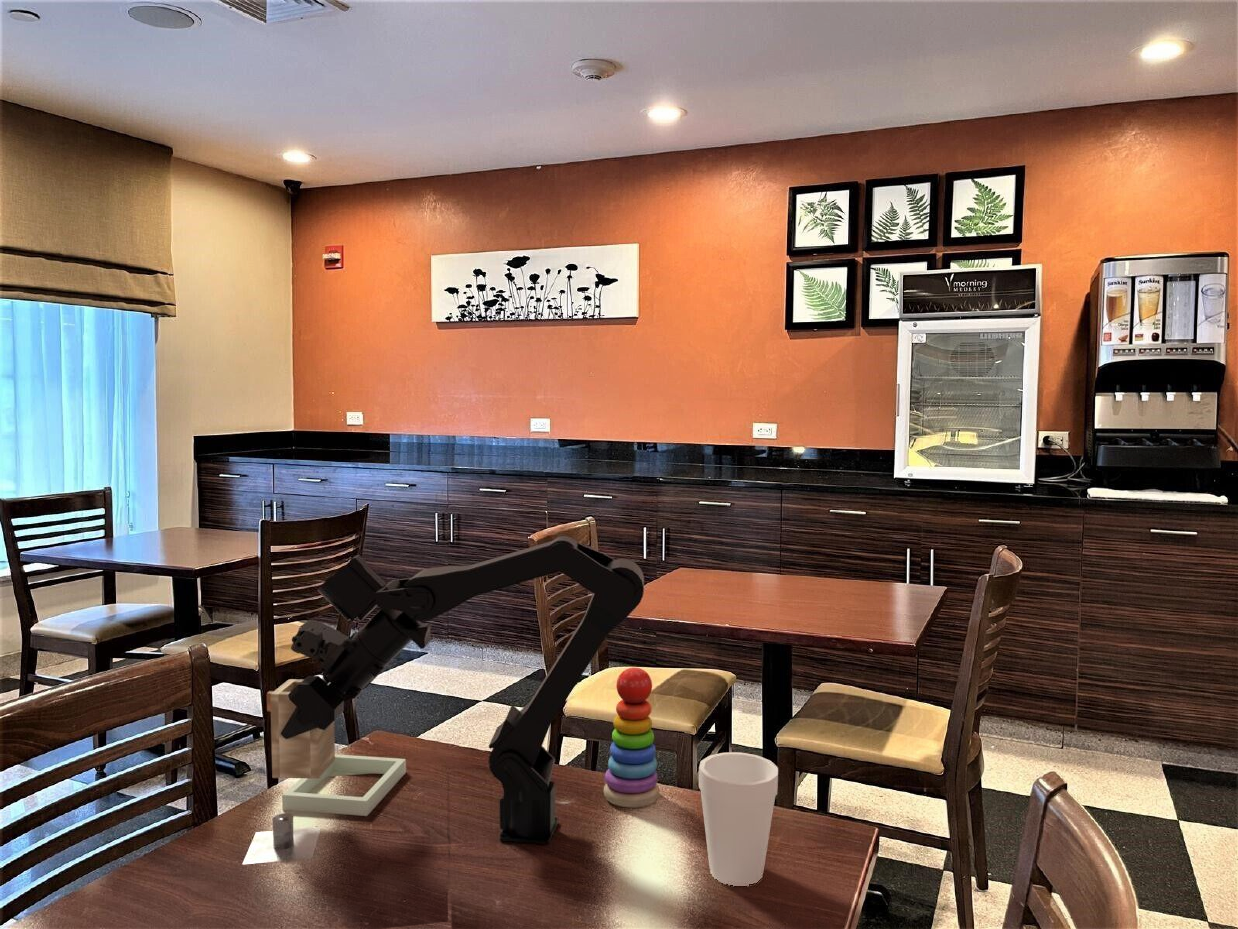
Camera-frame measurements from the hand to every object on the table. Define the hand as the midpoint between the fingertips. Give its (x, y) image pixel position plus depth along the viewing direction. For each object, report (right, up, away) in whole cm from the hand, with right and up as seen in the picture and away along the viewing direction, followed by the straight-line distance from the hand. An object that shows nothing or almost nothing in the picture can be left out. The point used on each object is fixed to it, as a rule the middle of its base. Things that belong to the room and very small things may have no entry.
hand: (293, 727), depth 117 cm
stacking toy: (+45, -13, +10) cm, 48 cm away
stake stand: (+1, -14, -6) cm, 15 cm away
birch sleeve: (+1, -6, 0) cm, 6 cm away
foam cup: (+57, -15, -10) cm, 60 cm away
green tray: (+4, -13, +10) cm, 17 cm away
